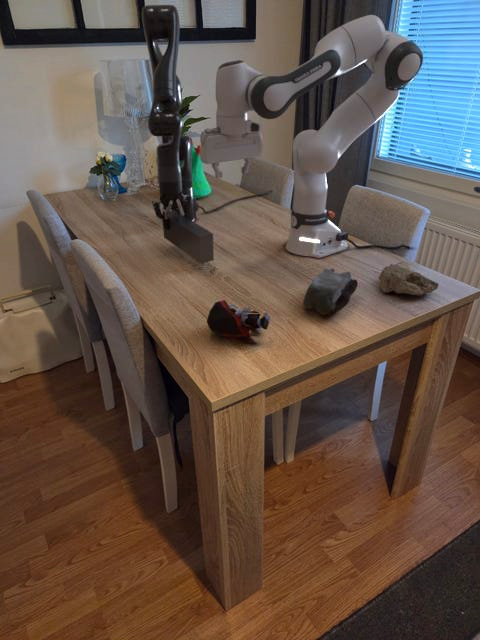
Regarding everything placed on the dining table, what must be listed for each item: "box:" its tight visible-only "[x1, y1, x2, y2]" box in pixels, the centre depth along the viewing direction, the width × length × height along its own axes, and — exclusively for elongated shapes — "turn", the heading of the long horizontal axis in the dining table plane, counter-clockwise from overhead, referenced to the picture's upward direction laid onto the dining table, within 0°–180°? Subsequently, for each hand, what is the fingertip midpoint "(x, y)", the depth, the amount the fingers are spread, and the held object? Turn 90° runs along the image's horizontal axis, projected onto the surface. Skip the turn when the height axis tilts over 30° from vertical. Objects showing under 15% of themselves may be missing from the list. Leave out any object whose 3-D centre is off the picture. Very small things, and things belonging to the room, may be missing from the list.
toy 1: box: [180, 137, 212, 200], centre depth 210 cm, size 20×20×25 cm
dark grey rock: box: [302, 268, 359, 317], centre depth 123 cm, size 18×11×8 cm, turn 152°
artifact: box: [378, 261, 439, 296], centre depth 132 cm, size 18×7×15 cm
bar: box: [162, 210, 215, 265], centre depth 148 cm, size 26×5×9 cm, turn 35°
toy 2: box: [206, 299, 271, 345], centre depth 109 cm, size 12×9×15 cm
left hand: (174, 227), depth 155 cm, fingers closed on bar, 5 cm apart
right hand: (232, 175), depth 134 cm, fingers open, 8 cm apart
